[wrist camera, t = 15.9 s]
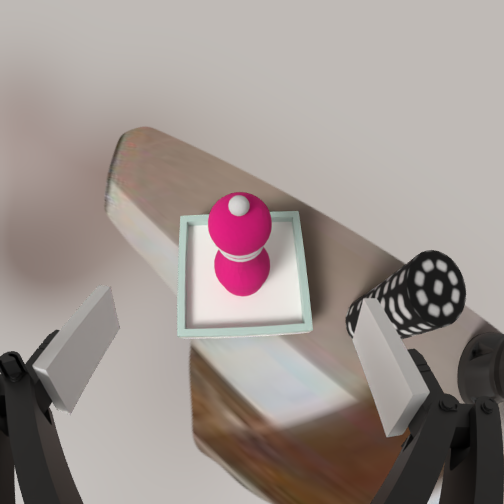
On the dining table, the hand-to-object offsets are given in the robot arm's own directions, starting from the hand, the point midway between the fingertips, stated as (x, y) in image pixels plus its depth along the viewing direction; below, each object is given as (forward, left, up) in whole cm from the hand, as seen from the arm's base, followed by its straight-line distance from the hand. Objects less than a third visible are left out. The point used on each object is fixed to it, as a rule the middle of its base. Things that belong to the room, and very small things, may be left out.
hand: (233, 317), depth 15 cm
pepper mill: (-1, -11, -26) cm, 28 cm away
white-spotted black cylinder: (-21, -3, -31) cm, 37 cm away
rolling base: (-1, -11, -30) cm, 32 cm away
